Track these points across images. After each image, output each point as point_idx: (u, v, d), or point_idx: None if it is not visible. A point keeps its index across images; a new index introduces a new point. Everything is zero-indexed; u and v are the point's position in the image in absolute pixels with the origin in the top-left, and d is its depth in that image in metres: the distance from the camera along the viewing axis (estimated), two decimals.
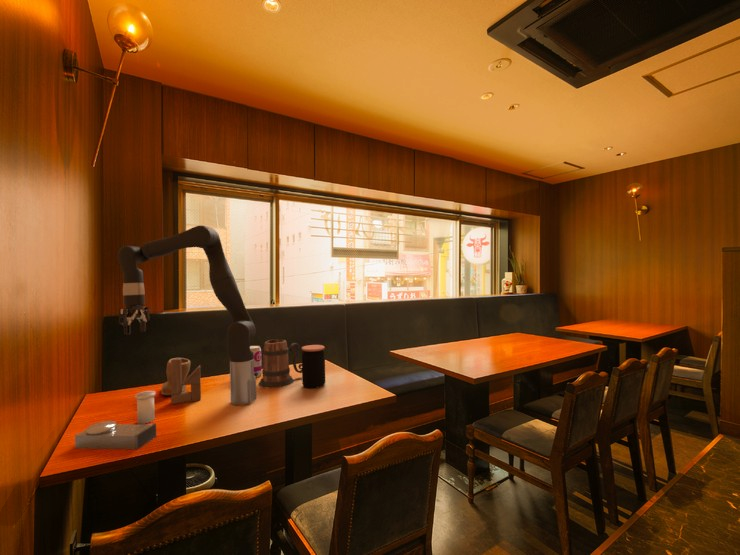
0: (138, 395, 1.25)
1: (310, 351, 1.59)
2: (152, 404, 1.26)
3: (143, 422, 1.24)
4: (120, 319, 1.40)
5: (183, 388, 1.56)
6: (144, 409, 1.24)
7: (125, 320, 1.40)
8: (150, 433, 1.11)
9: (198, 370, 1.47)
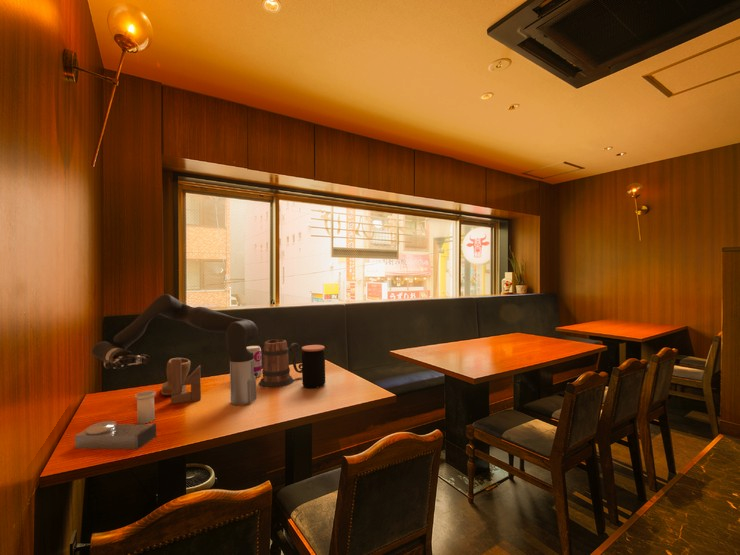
0: (138, 395, 1.25)
1: (310, 351, 1.59)
2: (152, 404, 1.26)
3: (143, 422, 1.24)
4: (106, 367, 1.32)
5: (183, 388, 1.56)
6: (144, 409, 1.24)
7: (108, 361, 1.32)
8: (150, 433, 1.11)
9: (198, 370, 1.47)
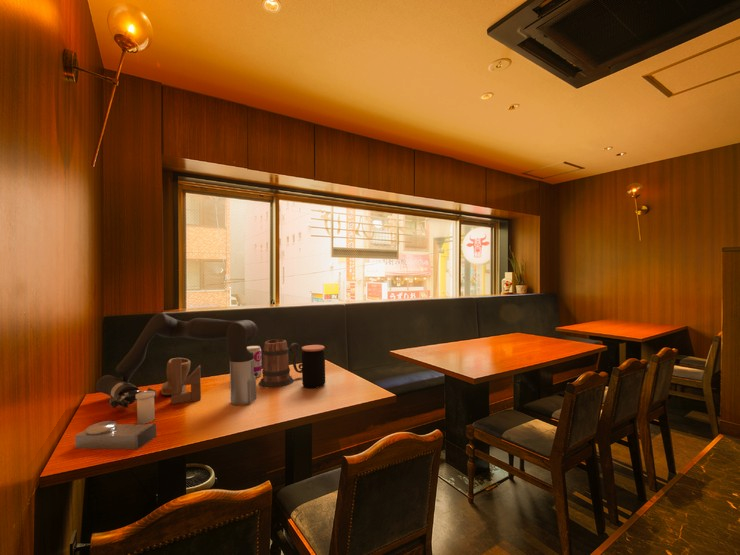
0: (138, 395, 1.25)
1: (310, 351, 1.59)
2: (152, 404, 1.26)
3: (143, 422, 1.24)
4: (112, 405, 1.29)
5: (183, 388, 1.56)
6: (144, 409, 1.24)
7: (114, 400, 1.29)
8: (150, 433, 1.11)
9: (198, 370, 1.47)
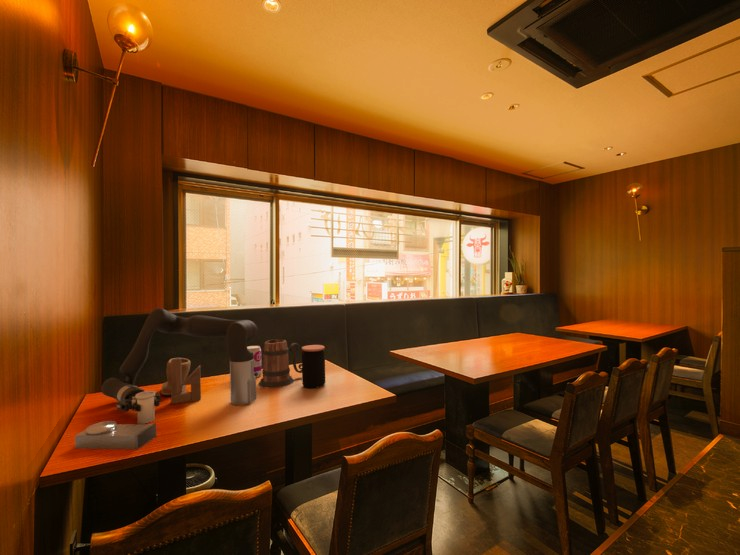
0: (138, 395, 1.25)
1: (310, 351, 1.59)
2: (152, 404, 1.26)
3: (143, 422, 1.24)
4: (123, 409, 1.24)
5: (183, 388, 1.56)
6: (144, 409, 1.24)
7: (125, 403, 1.25)
8: (150, 433, 1.11)
9: (198, 370, 1.47)
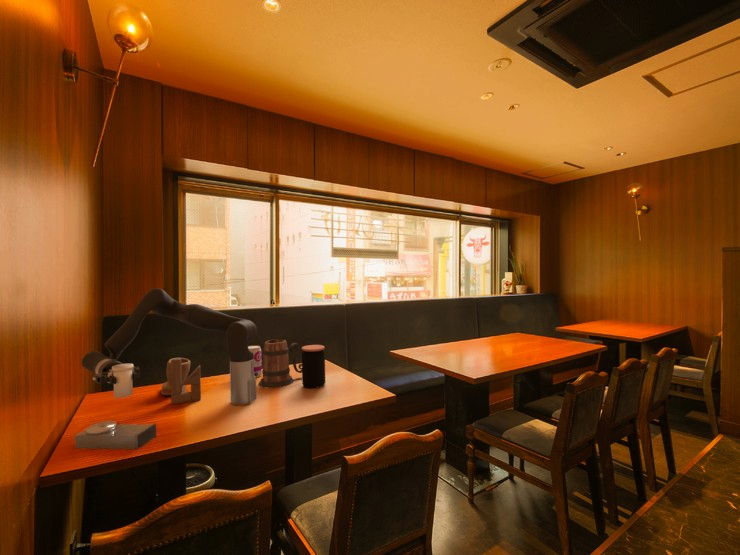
0: (114, 367, 1.17)
1: (310, 351, 1.59)
2: (129, 377, 1.19)
3: (119, 396, 1.17)
4: (98, 382, 1.17)
5: (183, 388, 1.56)
6: (121, 381, 1.17)
7: (101, 375, 1.17)
8: (150, 433, 1.11)
9: (198, 370, 1.47)
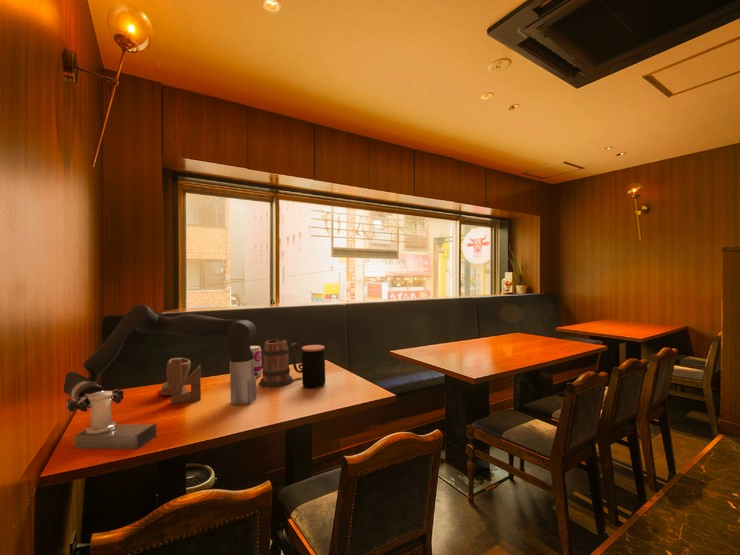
0: (91, 396, 1.09)
1: (310, 351, 1.59)
2: (108, 406, 1.11)
3: (97, 427, 1.08)
4: (69, 409, 1.08)
5: (183, 388, 1.56)
6: (98, 411, 1.09)
7: (71, 402, 1.08)
8: (150, 433, 1.11)
9: (198, 370, 1.47)
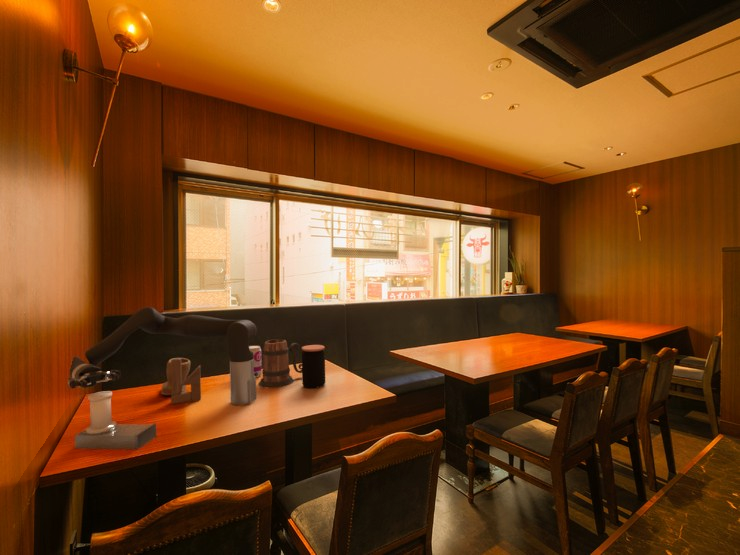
0: (91, 396, 1.09)
1: (310, 351, 1.59)
2: (108, 406, 1.11)
3: (97, 427, 1.08)
4: (70, 386, 1.19)
5: (183, 388, 1.56)
6: (98, 412, 1.08)
7: (72, 380, 1.19)
8: (150, 433, 1.11)
9: (198, 370, 1.47)
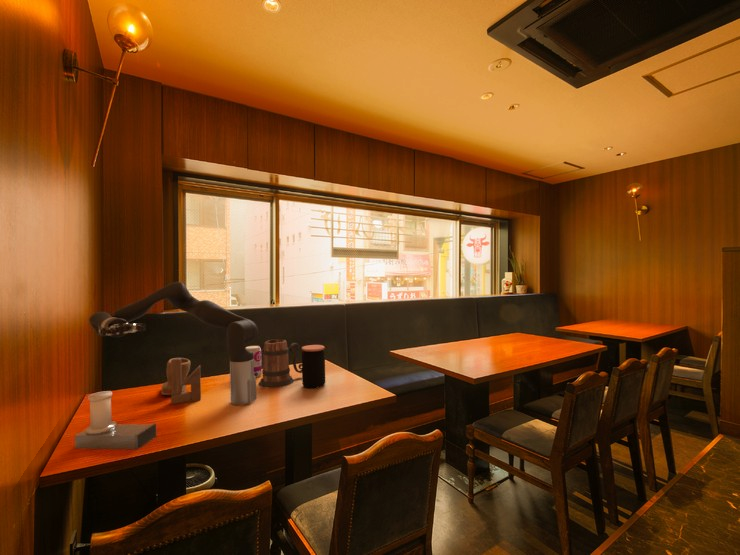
0: (91, 396, 1.09)
1: (310, 351, 1.59)
2: (108, 406, 1.11)
3: (97, 427, 1.08)
4: (101, 333, 1.30)
5: (183, 388, 1.56)
6: (98, 412, 1.08)
7: (103, 328, 1.30)
8: (150, 433, 1.11)
9: (198, 370, 1.47)
